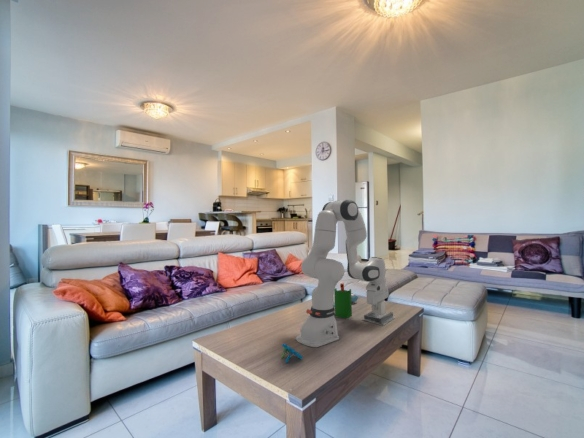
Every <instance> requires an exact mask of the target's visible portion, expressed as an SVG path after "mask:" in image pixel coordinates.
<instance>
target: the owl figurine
mask: <svg viewBox="0 0 584 438" xmlns="http://www.w3.org/2000/svg"><path fill="white" fill-rule="evenodd" d="M345 290H346V291H348V290H347V289H345ZM358 299H360V297H359V296H358V295H356V293H353V292H351V302H352V303H356V302H357V301H358ZM334 307H335V302H334Z"/></svg>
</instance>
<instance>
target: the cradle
mask: <svg viewBox="0 0 584 438" xmlns="http://www.w3.org/2000/svg"><path fill="white" fill-rule="evenodd" d="M395 319H396V316H395V315H394V312H392V311H390V312H388V313H385V314H383V315H378V314H374V313H372V310H371V311H370V312H368V313H365V314H364V315H363V317H362V318H361V320H362V321H364V322H368V323H372V324H376V325H380V326H385V325H387V324H388V323H390V322H392V321H393V320H395Z"/></svg>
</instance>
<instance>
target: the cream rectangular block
mask: <svg viewBox="0 0 584 438" xmlns="http://www.w3.org/2000/svg"><path fill="white" fill-rule="evenodd" d="M377 307H378V310H374V306H373V305H371V311H372V313H374V314H378V315H383V314H387V313H386V311H387V310H386V301H385V300H384V301H383V300H382V301H380V302H378V303H377Z"/></svg>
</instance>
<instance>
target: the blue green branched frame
mask: <svg viewBox="0 0 584 438" xmlns="http://www.w3.org/2000/svg"><path fill="white" fill-rule="evenodd" d="M281 346H282V347H283V348H282V349H283V351H282V352H283V353H282V355H281V357H280V358H282V359H283V358H284V356H285V355H287V357H286V359H285V361H284V362H285V363H286V364H288V363H289V361H290V359H291V357H293V356H294V357H297V358H298V359H300V360H303V358H304V357H303V355H301V354H300V353H299V352H297V351H296V350H295V349H294V348H292V347H291V346H289V345H287V344H286V343H282V344H281Z"/></svg>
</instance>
